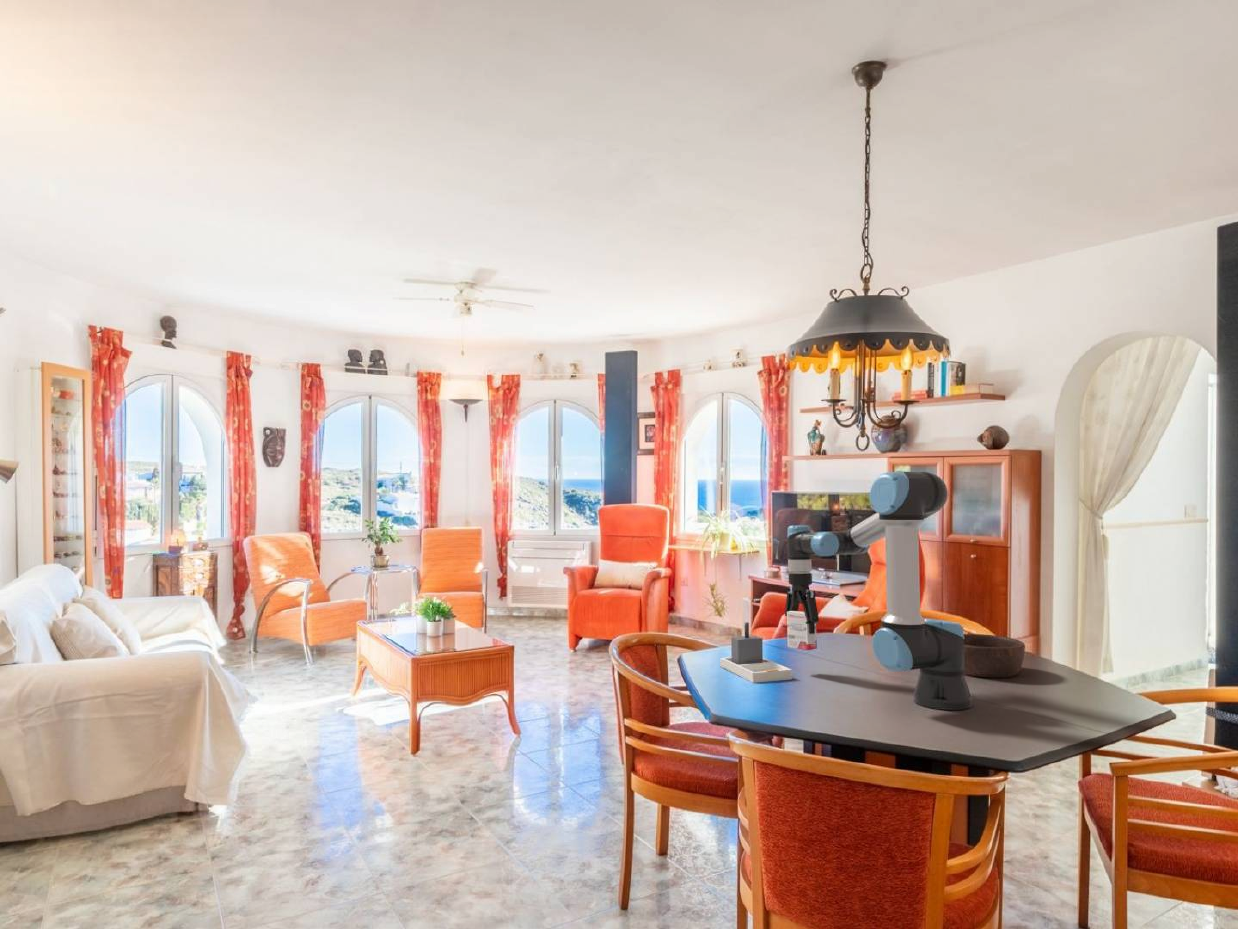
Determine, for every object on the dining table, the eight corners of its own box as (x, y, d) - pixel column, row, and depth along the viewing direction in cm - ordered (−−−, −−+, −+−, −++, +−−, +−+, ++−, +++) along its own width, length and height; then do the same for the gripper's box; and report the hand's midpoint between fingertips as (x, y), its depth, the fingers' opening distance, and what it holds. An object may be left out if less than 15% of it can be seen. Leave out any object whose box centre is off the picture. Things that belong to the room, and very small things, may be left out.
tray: (792, 679, 243) (792, 668, 243) (752, 682, 238) (752, 672, 238) (757, 664, 264) (756, 654, 265) (720, 667, 260) (720, 657, 260)
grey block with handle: (762, 668, 256) (762, 623, 256) (738, 670, 253) (738, 624, 253) (755, 665, 260) (755, 620, 261) (731, 667, 258) (731, 622, 258)
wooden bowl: (1040, 674, 249) (1040, 642, 250) (998, 684, 235) (998, 651, 236) (968, 660, 270) (968, 630, 270) (926, 669, 256) (925, 638, 256)
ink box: (817, 648, 249) (816, 612, 249) (808, 650, 245) (807, 613, 246) (796, 645, 255) (795, 609, 256) (786, 647, 252) (785, 611, 253)
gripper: (829, 574, 243) (831, 646, 241) (792, 569, 263) (794, 635, 262) (808, 575, 240) (810, 647, 239) (773, 570, 261) (774, 637, 260)
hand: (802, 641), depth 250 cm, fingers closed on ink box, 9 cm apart
